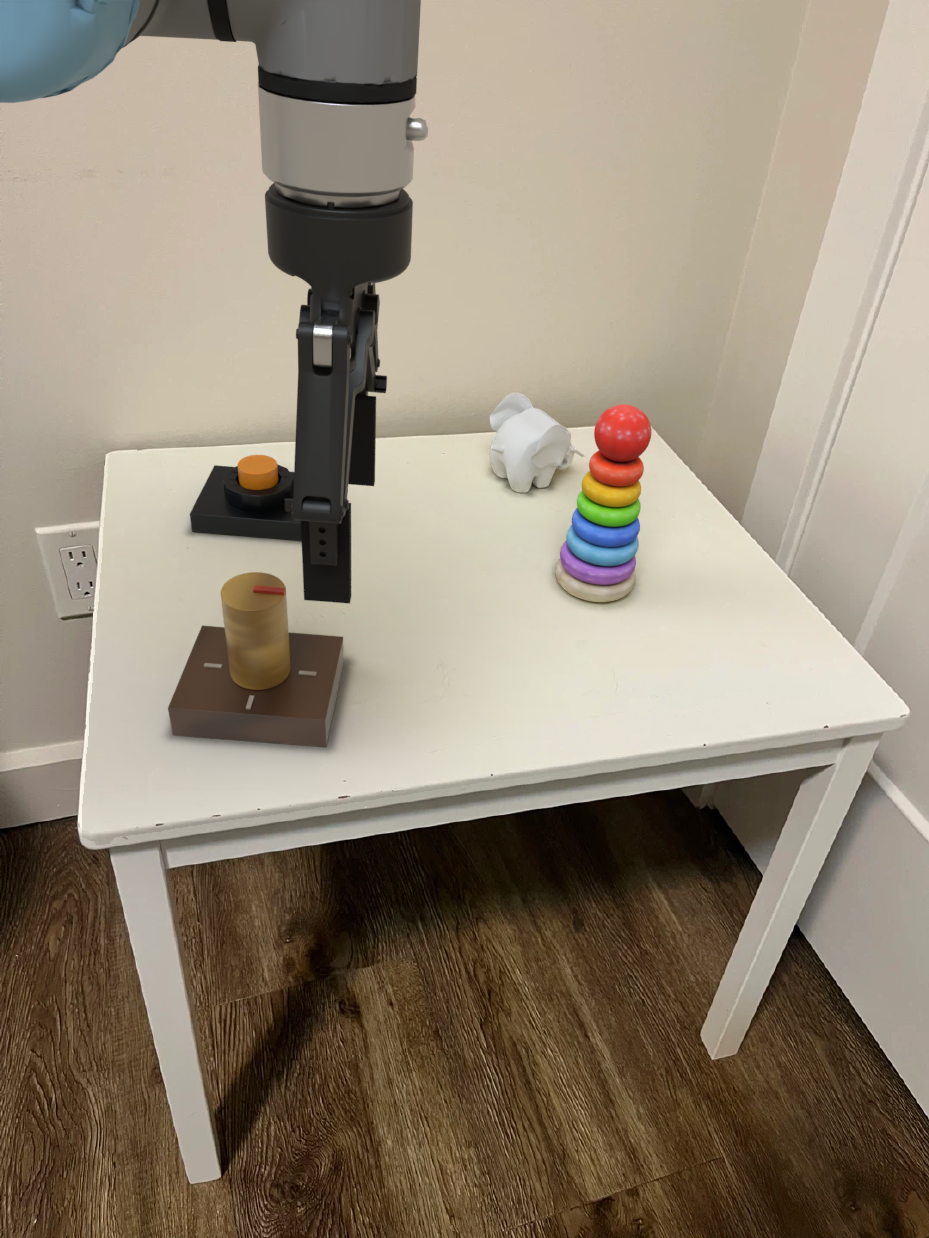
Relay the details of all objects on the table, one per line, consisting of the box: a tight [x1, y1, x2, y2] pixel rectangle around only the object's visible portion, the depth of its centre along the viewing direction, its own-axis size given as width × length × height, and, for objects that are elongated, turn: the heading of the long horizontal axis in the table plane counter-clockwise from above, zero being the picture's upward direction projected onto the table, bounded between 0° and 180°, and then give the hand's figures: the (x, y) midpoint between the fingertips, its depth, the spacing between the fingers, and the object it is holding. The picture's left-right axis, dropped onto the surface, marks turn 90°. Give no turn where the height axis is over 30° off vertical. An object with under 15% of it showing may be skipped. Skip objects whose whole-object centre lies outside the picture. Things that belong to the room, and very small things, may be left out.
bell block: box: [189, 463, 302, 542], centre depth 96 cm, size 12×10×4 cm
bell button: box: [237, 454, 278, 490], centre depth 94 cm, size 4×4×2 cm
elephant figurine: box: [489, 391, 586, 494], centre depth 104 cm, size 10×12×9 cm
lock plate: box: [167, 625, 345, 748], centre depth 74 cm, size 12×10×3 cm
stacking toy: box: [555, 404, 652, 603], centre depth 86 cm, size 8×8×19 cm
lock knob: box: [220, 571, 291, 690], centre depth 71 cm, size 5×5×8 cm
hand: (342, 535), depth 60 cm, fingers open, 13 cm apart
